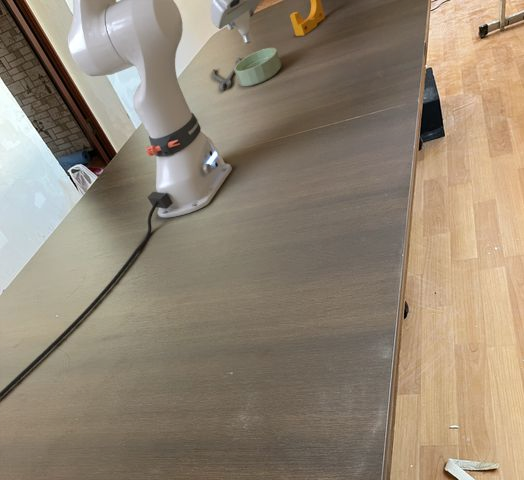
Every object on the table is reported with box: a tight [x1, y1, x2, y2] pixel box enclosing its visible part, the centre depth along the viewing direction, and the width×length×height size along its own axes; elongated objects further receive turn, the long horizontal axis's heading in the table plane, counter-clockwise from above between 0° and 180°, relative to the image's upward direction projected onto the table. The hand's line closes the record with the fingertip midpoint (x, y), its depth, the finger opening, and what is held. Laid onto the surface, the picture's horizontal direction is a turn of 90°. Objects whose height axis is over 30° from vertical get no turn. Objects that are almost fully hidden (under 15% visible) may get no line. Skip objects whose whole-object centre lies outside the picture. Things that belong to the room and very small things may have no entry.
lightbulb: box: [232, 10, 253, 44], centre depth 145 cm, size 6×6×11 cm
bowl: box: [233, 47, 282, 87], centre depth 154 cm, size 14×14×5 cm
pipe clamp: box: [289, 0, 326, 37], centre depth 167 cm, size 12×4×6 cm, turn 130°
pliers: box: [211, 57, 242, 92], centre depth 168 cm, size 11×1×25 cm
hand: (240, 21), depth 146 cm, fingers closed on lightbulb, 6 cm apart
